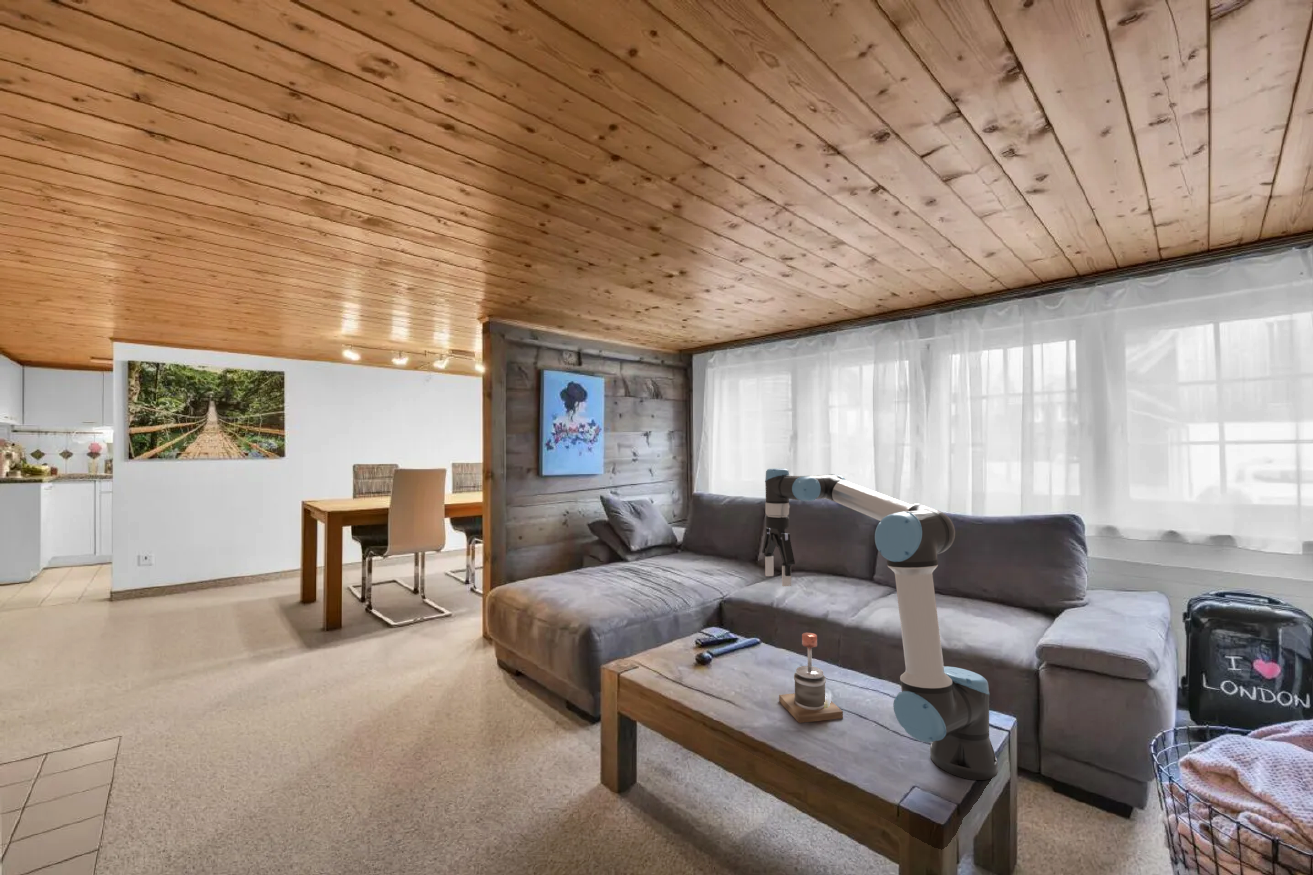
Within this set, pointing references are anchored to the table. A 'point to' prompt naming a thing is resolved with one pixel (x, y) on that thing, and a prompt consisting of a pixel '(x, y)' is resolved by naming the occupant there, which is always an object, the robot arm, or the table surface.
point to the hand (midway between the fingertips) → (777, 580)
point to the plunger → (809, 658)
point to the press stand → (809, 701)
